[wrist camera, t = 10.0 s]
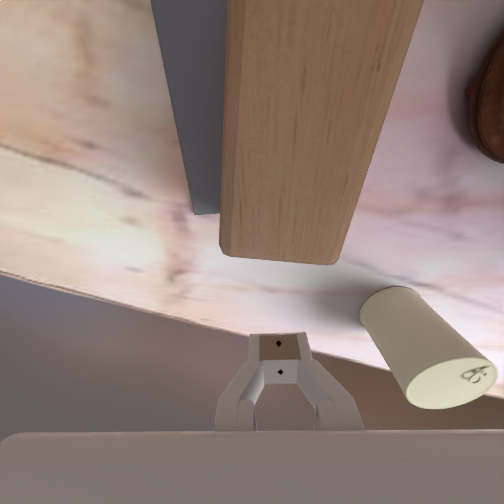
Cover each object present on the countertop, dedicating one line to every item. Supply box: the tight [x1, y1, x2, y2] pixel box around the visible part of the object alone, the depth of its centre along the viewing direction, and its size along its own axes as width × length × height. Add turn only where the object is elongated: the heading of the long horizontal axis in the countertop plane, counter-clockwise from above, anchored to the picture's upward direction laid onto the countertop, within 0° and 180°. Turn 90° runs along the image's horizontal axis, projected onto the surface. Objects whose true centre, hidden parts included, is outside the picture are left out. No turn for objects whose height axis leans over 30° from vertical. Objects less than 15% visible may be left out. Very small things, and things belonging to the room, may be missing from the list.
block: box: [219, 0, 424, 265], centre depth 17 cm, size 10×10×20 cm
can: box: [359, 287, 498, 409], centre depth 28 cm, size 9×9×12 cm
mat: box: [151, 0, 228, 215], centre depth 21 cm, size 16×22×1 cm
